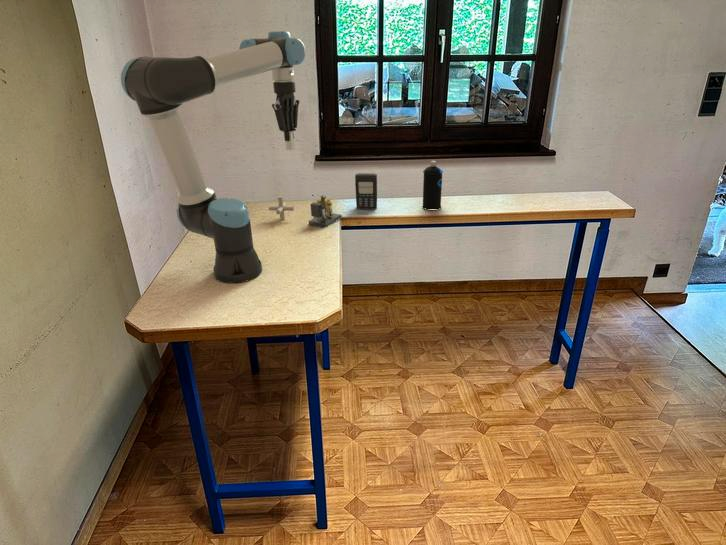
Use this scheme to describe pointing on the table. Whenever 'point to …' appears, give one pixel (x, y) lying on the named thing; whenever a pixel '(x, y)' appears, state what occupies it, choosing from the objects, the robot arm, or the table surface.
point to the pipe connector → (281, 208)
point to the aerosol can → (432, 187)
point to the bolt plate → (337, 216)
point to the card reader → (366, 190)
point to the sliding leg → (326, 205)
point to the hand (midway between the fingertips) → (290, 149)
